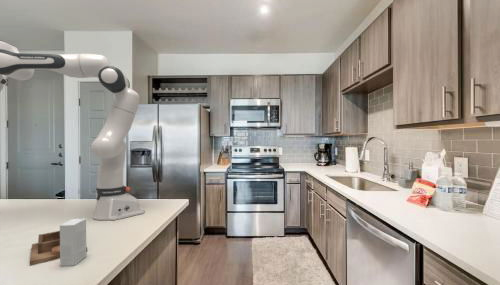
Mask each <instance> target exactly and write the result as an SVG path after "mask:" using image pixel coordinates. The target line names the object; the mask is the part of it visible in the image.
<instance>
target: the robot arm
mask: <svg viewBox="0 0 500 285" xmlns="http://www.w3.org/2000/svg"><path fill="white" fill-rule="evenodd" d="M35 70H47V71H52V72H55V73H58V74H61V75H64V76H66V77H69V78H74V79H75V78H76V79H85V78H87V79H89V78H97V79H98V81H99V83H100V84H101V85H102V86H103V87H104V88H105V89H106V90H107V91H108V92H110V93H112V94H113V95H114V100H113V103H112V105H111V108H110V110H109V113H108V116H107V119H106V121H105V123H104V125H103V126H102V128H101V130H100V131H99V133H98V134H97V136H96V137H95V139H94V140H93V141H92V143H91V145H90V150H91V153H92V154H93V155H94V156H95V157H96V158H99V159H100V162H99V166H98V169H97V170H96V171H97V172H96V173H97V174H96V177H97V178H96V181H97V182H96V183H97V184H96V185H97V186H96V190H95V199H96V205H95V209H94V210H95V211H94V214H93V219H94V220H96V221H97V220H99V221H116V220H121V219H125V218H129V217H134V216H137V215H141V214H143V215H144V214H145V212H146V209H145V208H144V207H142V206H141V204H140V201H139V199H138V198H136V197H135V196H133V195H131V194H130V193H129V192H130V190H131V187H129V186H125V185H124V167H125V160H126V151H127V143H126V142H125V138H126V137H127V135H128V133H129V131H130V130H131V128H132V127H133V126H132V125H133V123H134V120H135V118H136V115H137V111H138V108H139V105H140V95H139V94H138V92H136V91H135V90H134V89H132V88H130V86H131V84H130V80H129V78H128V77H127V76H126V74H125V73H124V72H123V71H122V70H121V69H120V68H118V67H115V66H113V65H111V63H110V61H109V59H108V58H107V57H106V56H105V55H102V54H99V53H98V54H97V53H96V54H95V53H58V54H56V53H54V54H53V53H21V52H19V49H18V48H17V47H16V46H15V45H13V44H11V43H9V42H7V41H4V40H1V39H0V93H1V92H2V91H3V89H4V86H6V85H7V84H8V81H7V79H6V78H5V77H4V76H6V77H8V78H11V79H14V80H18V81H20V82H21V81H22V82H27V81H30V80H31V79H33V77H34V76H35V73H36V71H35Z"/></svg>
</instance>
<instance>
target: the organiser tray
mask: <svg viewBox="0 0 500 285" xmlns="http://www.w3.org/2000/svg"><path fill="white" fill-rule="evenodd" d="M37 239H38V241H37V242H36V243H32V244H31V248H30V255H29V256H30V257H29V266H35V265H38V264H39V265H40V264H43V263H47V262H51V261H54V260H60V230H57V231H52V232H45V233H40V234H38V238H37ZM86 252H87V253H88V246H87V245H86Z"/></svg>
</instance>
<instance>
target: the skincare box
mask: <svg viewBox="0 0 500 285" xmlns="http://www.w3.org/2000/svg"><path fill="white" fill-rule="evenodd" d="M59 231H60V258H59V260H60V261H59V262H60V263H59V264H60V267H68V266H71V267H72V266H76V265H78V263H80V262H81V261H82V260H83V259H85V258H86V257H87V253H88V251H87V252H86V246H87V218H72V219H70V220H68V221H66V222H63V223H62V224H60V225H59Z"/></svg>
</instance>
